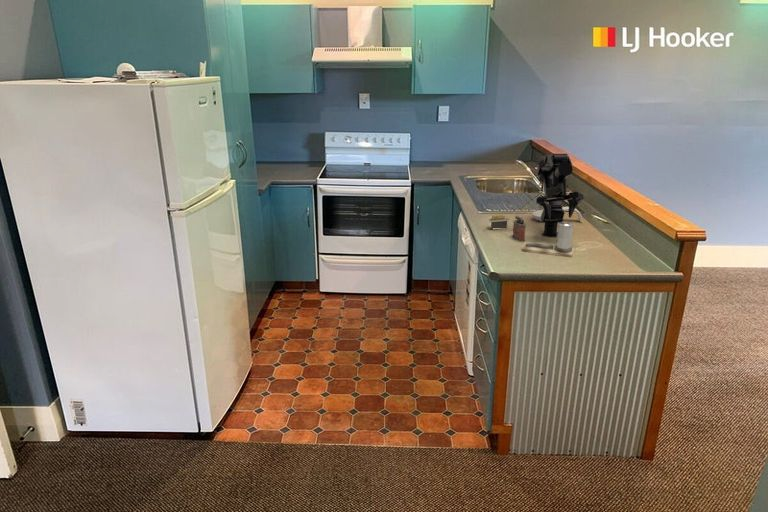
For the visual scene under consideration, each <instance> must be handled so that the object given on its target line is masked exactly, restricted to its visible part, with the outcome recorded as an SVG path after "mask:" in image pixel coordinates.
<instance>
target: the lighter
mask: <svg viewBox="0 0 768 512" xmlns="http://www.w3.org/2000/svg"><path fill="white" fill-rule="evenodd" d="M514 218H515V220H513V222H512V223H513V227H512V236H511V237H512V238H513V239H514V240H515V241H518V242H521V243H523V242H524V243H525V242H526V239H525V237H526V227H527V224H526V223H525V218H523V216H519V215H515V217H514Z"/></svg>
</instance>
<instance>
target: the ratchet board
mask: <svg viewBox="0 0 768 512" xmlns="http://www.w3.org/2000/svg"><path fill="white" fill-rule="evenodd" d="M520 250H521V252H526V253H535V254H543V255H551V256H559V257H566V258H572V257H573V255H574V253H575V246H574V247H573V246H571V248H570V249H560V248H557V247H556V244H548V243H538V242H529V241H524V244H523V245H522V247H521V249H520Z"/></svg>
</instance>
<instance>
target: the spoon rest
mask: <svg viewBox="0 0 768 512" xmlns="http://www.w3.org/2000/svg"><path fill="white" fill-rule="evenodd" d="M562 209H563V210H564V212H567V211H569V206H562ZM542 212H543V209H542V210H536V211H533V212H532V213H531V215H532V217H533V219H534V220H537V221H538V220H539V222H541V221H542V220H541V214H542ZM573 213H576V214H577V216H578V222H579V221H580V222H582V223H583V217H582V214H581V212H580V211H579V210H578V209H576V208H575V210H574V212H573ZM580 222H579V223H580Z"/></svg>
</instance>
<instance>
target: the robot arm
mask: <svg viewBox="0 0 768 512" xmlns="http://www.w3.org/2000/svg"><path fill="white" fill-rule="evenodd" d="M546 164H549V165H546ZM573 171H574V169H573V163H572V160H571V159H570V156H569V155H568V153H551V154H544V155H543V159H541V161H539V162H538V163H537V168H536V176H537V179H538V180H539V181H540V182H541V183H542V184H543V186H542V187H543V191H544V192H543V193H544V195H543V196H537V198H536V200H535V203H536V204H537V205H539V206H541V207H542V208H543V209H542V210H543V212H542V214H541V220H542V223H543V224H544V225H543V231H542V234H541V236H544V237H545V236H547V237H554V238H555V237H556V238H557V234H558V225H559V223H560V222H564V221H563V220H564V217H565V214H566V213H565V212H566V211H564V210H563V209H562V207H563V206H562V201H568V207H569V210H568V218H569V219H571V218H572V216H573V214H574V213H575V212H574V210H575V209H576V208H577V206H578V204H579V203H581V201H584V194H583V193H582V192H579V191H577V190H576V191H570V192H569V193H568V194H567V189H568V187H569V185H568V184H567V178H569V176H570V175H571V174H572V173H573Z"/></svg>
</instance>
